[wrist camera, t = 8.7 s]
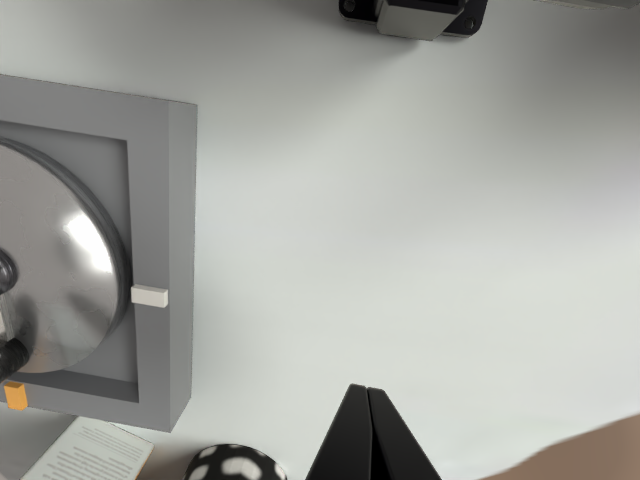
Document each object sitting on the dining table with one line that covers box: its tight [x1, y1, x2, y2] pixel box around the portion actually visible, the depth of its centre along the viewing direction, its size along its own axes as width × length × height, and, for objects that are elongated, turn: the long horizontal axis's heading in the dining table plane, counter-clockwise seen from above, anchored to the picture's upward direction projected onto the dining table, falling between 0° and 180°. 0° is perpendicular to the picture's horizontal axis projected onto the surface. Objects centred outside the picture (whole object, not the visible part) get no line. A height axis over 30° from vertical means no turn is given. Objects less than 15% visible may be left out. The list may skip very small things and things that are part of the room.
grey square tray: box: [0, 74, 197, 433], centre depth 20 cm, size 20×20×3 cm
